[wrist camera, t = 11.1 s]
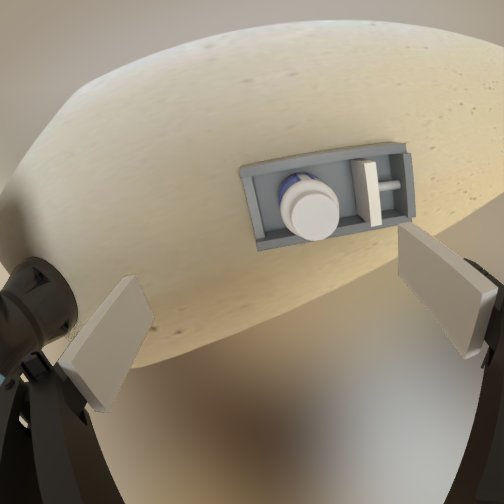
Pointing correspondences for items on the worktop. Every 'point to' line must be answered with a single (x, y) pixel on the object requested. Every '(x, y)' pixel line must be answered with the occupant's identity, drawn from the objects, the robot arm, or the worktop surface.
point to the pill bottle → (308, 206)
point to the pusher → (369, 190)
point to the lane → (339, 180)
